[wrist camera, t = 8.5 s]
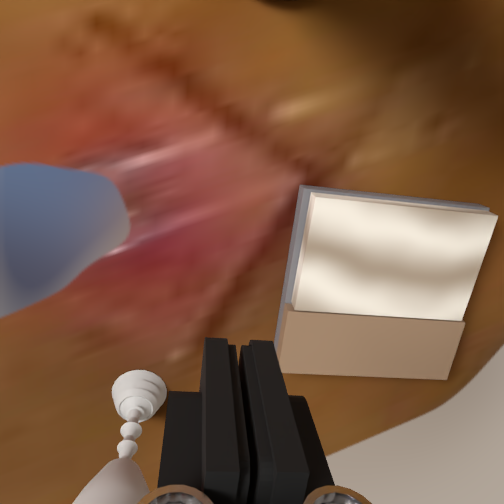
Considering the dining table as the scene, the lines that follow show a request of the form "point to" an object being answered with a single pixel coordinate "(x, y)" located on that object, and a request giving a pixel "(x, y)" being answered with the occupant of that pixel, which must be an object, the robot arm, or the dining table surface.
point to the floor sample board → (361, 323)
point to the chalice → (127, 441)
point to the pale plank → (389, 257)
